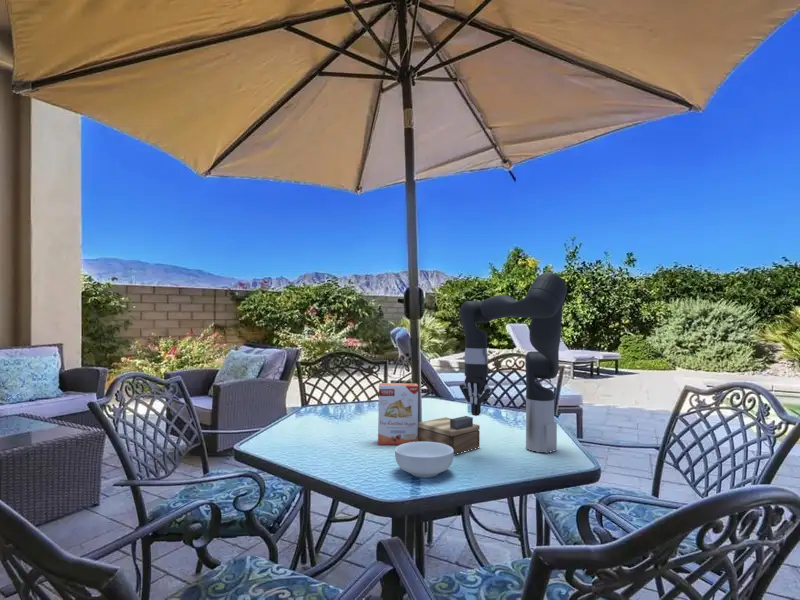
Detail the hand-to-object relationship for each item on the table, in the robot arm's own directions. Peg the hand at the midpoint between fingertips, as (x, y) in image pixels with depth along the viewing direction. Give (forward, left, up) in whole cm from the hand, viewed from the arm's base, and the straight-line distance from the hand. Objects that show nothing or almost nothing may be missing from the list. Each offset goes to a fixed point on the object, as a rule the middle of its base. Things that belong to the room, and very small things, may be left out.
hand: (475, 415), depth 154 cm
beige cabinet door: (+12, 0, -7) cm, 14 cm away
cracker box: (+27, +10, -13) cm, 32 cm away
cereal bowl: (-2, +25, -13) cm, 28 cm away
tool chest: (+12, 0, -13) cm, 18 cm away
